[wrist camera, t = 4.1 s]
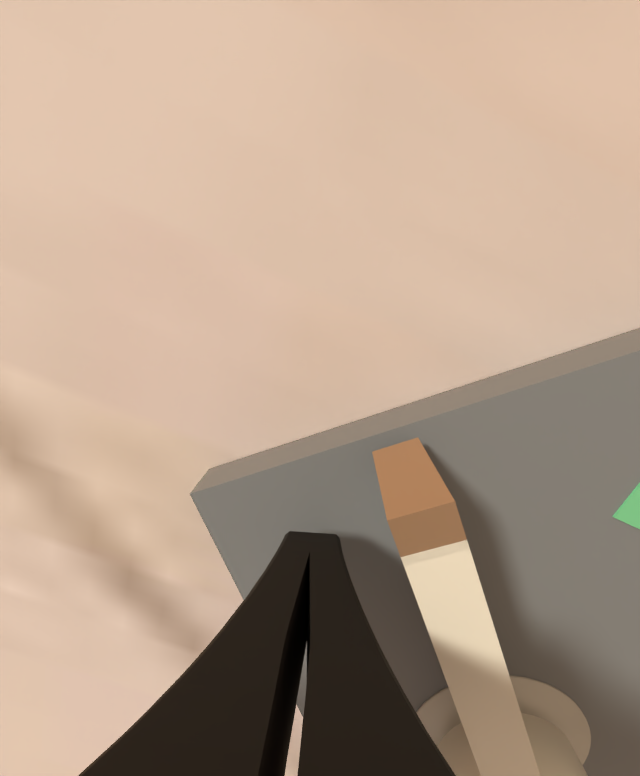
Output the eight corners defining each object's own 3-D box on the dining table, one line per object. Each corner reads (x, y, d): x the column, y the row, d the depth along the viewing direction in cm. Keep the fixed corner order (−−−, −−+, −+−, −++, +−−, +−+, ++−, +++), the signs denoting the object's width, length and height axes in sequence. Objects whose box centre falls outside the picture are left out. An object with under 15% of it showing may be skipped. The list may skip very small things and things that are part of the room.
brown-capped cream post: (585, 794, 11) (679, 982, 8) (454, 814, 12) (495, 996, 9) (482, 417, 8) (567, 487, 5) (313, 470, 9) (299, 560, 6)
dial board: (902, 694, 12) (985, 751, 10) (363, 787, 15) (366, 843, 13) (916, 237, 9) (1041, 223, 7) (209, 469, 11) (188, 495, 10)
